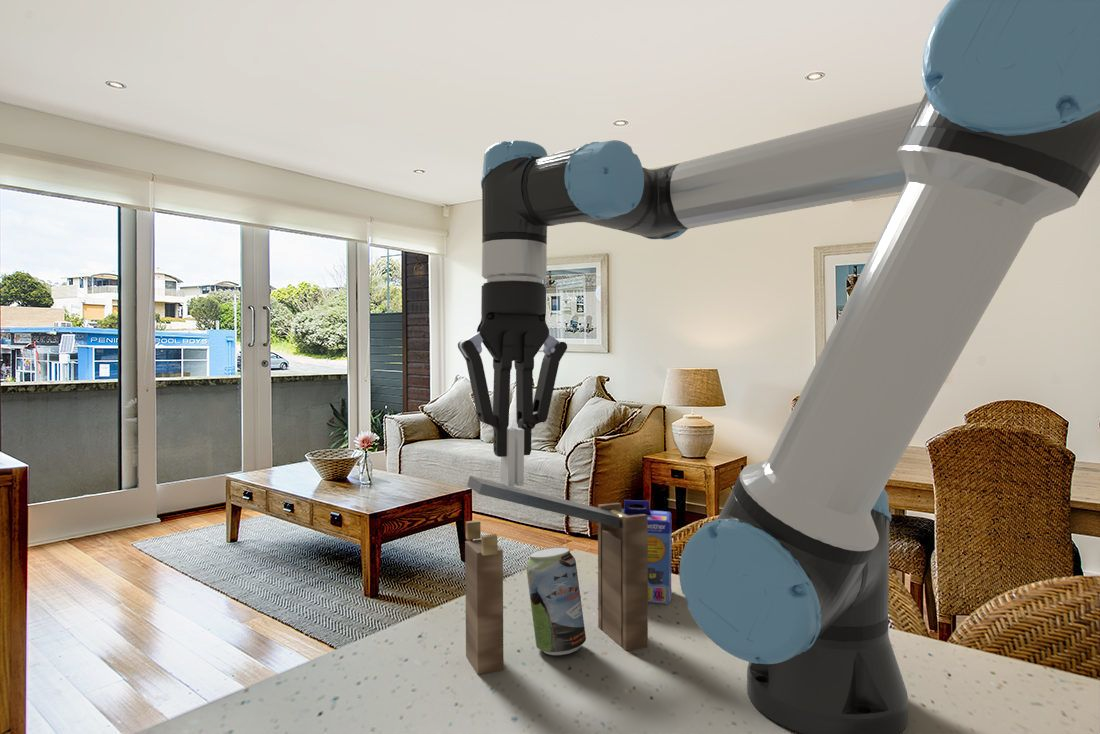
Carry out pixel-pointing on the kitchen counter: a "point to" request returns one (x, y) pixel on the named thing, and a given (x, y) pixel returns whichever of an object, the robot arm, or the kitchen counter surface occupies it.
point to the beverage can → (555, 601)
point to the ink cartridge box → (656, 550)
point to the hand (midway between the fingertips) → (512, 483)
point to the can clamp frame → (616, 589)
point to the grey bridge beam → (545, 502)
